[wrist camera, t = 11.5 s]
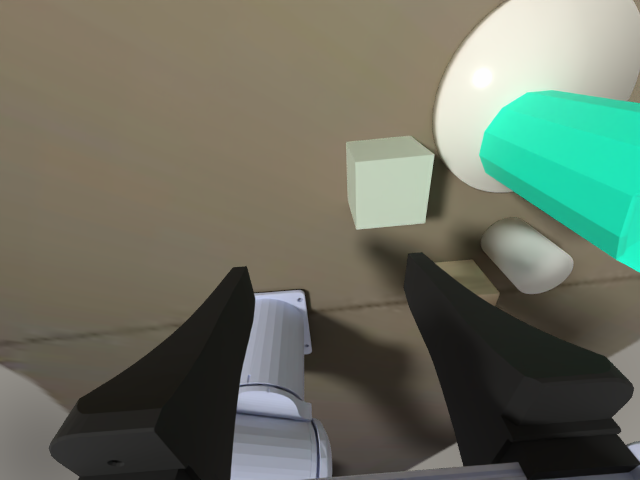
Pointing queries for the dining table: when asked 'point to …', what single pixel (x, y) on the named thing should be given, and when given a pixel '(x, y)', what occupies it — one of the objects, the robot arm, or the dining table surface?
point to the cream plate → (531, 69)
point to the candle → (573, 164)
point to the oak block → (471, 278)
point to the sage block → (388, 181)
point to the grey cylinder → (526, 256)
